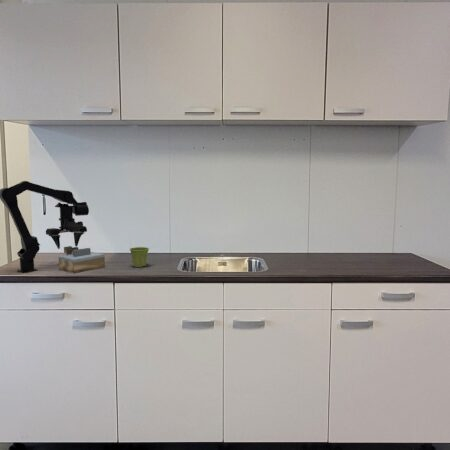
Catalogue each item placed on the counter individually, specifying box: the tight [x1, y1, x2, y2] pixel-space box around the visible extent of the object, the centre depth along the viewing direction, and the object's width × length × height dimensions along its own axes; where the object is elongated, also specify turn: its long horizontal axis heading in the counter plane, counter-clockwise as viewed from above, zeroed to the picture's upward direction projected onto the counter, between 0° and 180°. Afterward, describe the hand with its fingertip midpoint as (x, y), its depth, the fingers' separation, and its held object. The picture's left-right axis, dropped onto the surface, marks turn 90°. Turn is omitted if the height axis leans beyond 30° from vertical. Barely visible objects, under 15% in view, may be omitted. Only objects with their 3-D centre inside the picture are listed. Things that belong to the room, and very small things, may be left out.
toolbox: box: [58, 246, 106, 274], centre depth 176 cm, size 16×16×9 cm
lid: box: [58, 247, 106, 262], centre depth 175 cm, size 13×16×5 cm
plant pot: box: [129, 246, 150, 268], centre depth 180 cm, size 9×9×9 cm
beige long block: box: [63, 245, 73, 254], centre depth 180 cm, size 11×3×3 cm, turn 53°
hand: (67, 247), depth 182 cm, fingers open, 9 cm apart
